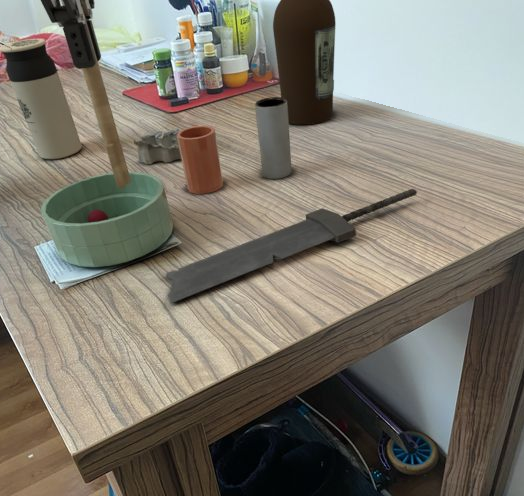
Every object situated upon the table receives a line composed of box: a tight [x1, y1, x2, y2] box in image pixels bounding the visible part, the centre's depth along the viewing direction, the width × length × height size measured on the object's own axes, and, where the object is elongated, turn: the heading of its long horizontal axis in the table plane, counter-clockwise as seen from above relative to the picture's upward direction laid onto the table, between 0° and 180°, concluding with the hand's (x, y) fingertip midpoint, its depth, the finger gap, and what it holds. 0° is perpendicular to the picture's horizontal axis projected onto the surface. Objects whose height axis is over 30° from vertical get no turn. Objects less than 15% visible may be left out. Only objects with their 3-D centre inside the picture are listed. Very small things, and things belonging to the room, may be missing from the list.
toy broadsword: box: [165, 188, 418, 304], centre depth 61 cm, size 7×35×2 cm, turn 117°
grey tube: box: [254, 96, 293, 180], centre depth 75 cm, size 4×4×10 cm
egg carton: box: [133, 125, 199, 165], centre depth 88 cm, size 11×8×4 cm
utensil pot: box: [177, 125, 224, 195], centre depth 75 cm, size 5×5×8 cm
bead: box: [88, 210, 108, 223], centre depth 68 cm, size 3×3×3 cm
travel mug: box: [0, 38, 83, 160], centre depth 91 cm, size 8×8×18 cm
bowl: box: [40, 171, 174, 268], centre depth 66 cm, size 15×15×6 cm
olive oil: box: [272, 0, 337, 126], centre depth 89 cm, size 11×11×25 cm
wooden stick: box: [81, 8, 131, 188], centre depth 57 cm, size 2×3×18 cm, turn 1°
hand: (88, 63), depth 54 cm, fingers closed on wooden stick, 2 cm apart
